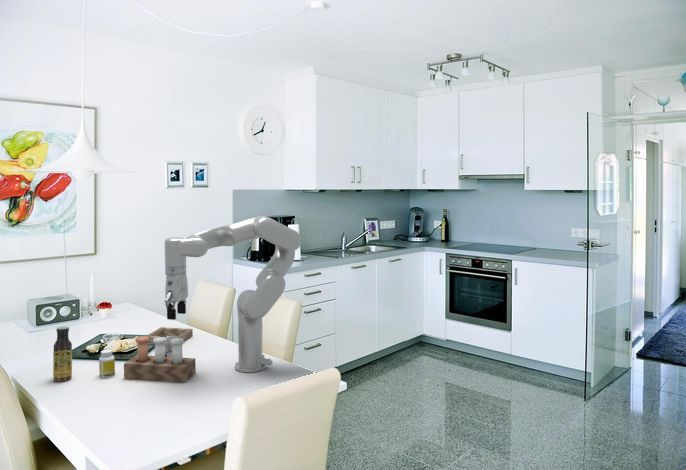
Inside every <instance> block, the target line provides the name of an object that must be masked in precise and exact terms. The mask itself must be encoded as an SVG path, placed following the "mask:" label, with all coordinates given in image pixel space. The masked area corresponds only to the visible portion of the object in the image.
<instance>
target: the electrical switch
mask: <svg viewBox="0 0 686 470" xmlns="http://www.w3.org/2000/svg"><path fill="white" fill-rule="evenodd" d="M165 337H166V342H165V357H173V355H172V344H171V339H174V338H176V337H177V336H165ZM153 347H155V344H154V345H153Z"/></svg>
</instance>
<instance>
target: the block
mask: <svg viewBox="0 0 686 470" xmlns="http://www.w3.org/2000/svg"><path fill="white" fill-rule="evenodd" d="M182 360H183V363H182V364H173V357H165V362H164V363H155V355H148V361H147V362H138V354H137V355H135V356H133V357H132V358H130V359H129V360H127V361H126V362H124V363H123V379H124V380H133V381H135V380H136V381H146V382H147V381H148V382H149V381H150V382H164V383H176V384H177V383H178V384H186V383H187V382H188V381H189V380H190V379H191V378H192V377H194V375H196V374H197V373H196V371H197V369H196V362H197V361H196V358H194V357H193V358H192V357H182Z"/></svg>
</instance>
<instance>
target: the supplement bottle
mask: <svg viewBox="0 0 686 470" xmlns="http://www.w3.org/2000/svg"><path fill="white" fill-rule="evenodd" d="M98 362H99V365H98V368H99V369H98V371H99V377H100V378H101V379H102V378H103V379H108V378H112V377H114V376H116V375H115V374H116V366H115V365H116V364H115V363H116V359H115V356H114V355H113V350H112V349H109V348H107V349H104V350H101V351H100V357H99V359H98Z"/></svg>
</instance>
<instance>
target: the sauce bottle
mask: <svg viewBox="0 0 686 470" xmlns="http://www.w3.org/2000/svg"><path fill="white" fill-rule="evenodd" d="M69 331H70V326H64V325H63V326H59V327H56V340H55V342H54V344H53V357H52V358H53V359H52V360H53V361H52V370H53V371H52V376H53V381H55V382H58V383H59V382H66V381H70V379H72V376H73V351H72V349H73V343H72V342H71V341H70V339H69V338H70V337H69Z"/></svg>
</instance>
